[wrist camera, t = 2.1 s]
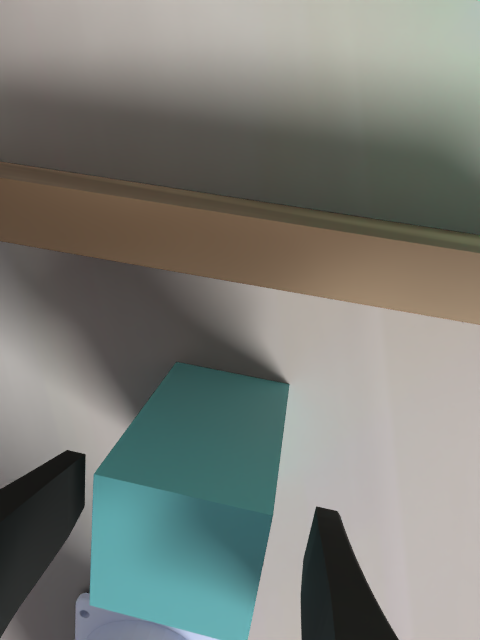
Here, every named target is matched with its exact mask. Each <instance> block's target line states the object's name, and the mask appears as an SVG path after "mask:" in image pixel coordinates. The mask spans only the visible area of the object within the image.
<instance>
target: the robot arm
mask: <svg viewBox="0 0 480 640" xmlns="http://www.w3.org/2000/svg"><path fill="white" fill-rule="evenodd" d="M84 505H85V454H82V453H78V452H73V451H69V450H67V451H65V452H63V453H61V454H60V455H58V456H56V457H54V458H53V459H51V460H49V461H48V462H46V463H44V464H43V465H41V466H40V467H38V468H36V469H35V470H33V471H31V472H29V473H28V474H26V475H24V476H23V477H21V478H19V479H17V480H16V481H14V482H12V483H11V484H9V485H7V486H5V487H4V488H2V489H0V638H1V636H2V634H3V633H4V631H5V629H6V628H7V626H8V624H9V622H10V621H11V619H12V618H13V616H14V615H15V613H16V612H17V610H18V608H19V607H20V605H21V604H22V603H23V601H24V600H25V598H26V597H27V595H28V594H29V593H30V591H31V590H32V588H33V587H34V586H35V584H36V583H37V581H38V580H39V578H40V577H41V576H42V574H43V573H44V571H45V570H46V568H47V567H48V566H49V564H50V563H51V561H52V560H53V558H54V557H55V556H56V554H57V553H58V551H59V550H60V548H61V547H62V545H63V544H64V543H65V541H66V540H67V538H68V536H69V535H70V533H71V531H72V529H73V527H74V526H75V524H76V522H77V520H78V518H79V516H80V514H81V512H82V510H83V508H84ZM89 604H90V593H82V594H80V595H79V597H78V599H77V601H76V612H75V640H219V639H215V638H211V637H208V636H204V635H200V634H196V633H193V632H189V631H185V630H181V629H177V628H174V627H170V626H166V625H162V624H158V623H155V622H151V621H147V620H143V619H140V618H136V617H132V616H128V615H124V614H121V613H117V612H113V611H109V610H106V609H102V608H98V607H94V606H90V605H89ZM301 629H302V640H399V639H398V638H397V636H396V634H395V633H394V631H393V629H392V628H391V626H390V624H389V623H388V621H387V619H386V617H385V616H384V614H383V612H382V610H381V608H380V606H379V605H378V603H377V601H376V599H375V597H374V595H373V593H372V591H371V589H370V587H369V585H368V583H367V581H366V579H365V577H364V574H363V572H362V570H361V568H360V566H359V564H358V561H357V559H356V557H355V554H354V552H353V550H352V547H351V545H350V542H349V540H348V537H347V534H346V532H345V529H344V526H343V523H342V520H341V517H340V515H339V513H338V512H337V511H334V510H330V509H325V508H321V507H316V510H315V514H314V518H313V522H312V526H311V530H310V534H309V539H308V543H307V547H306V551H305V555H304V559H303V572H302V585H301Z"/></svg>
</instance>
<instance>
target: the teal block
mask: <svg viewBox="0 0 480 640" xmlns="http://www.w3.org/2000/svg"><path fill="white" fill-rule="evenodd" d="M288 391H289V384H286V383H281V382H276V381H270V380H265V379H260V378H255V377H250V376H245V375H240V374H235V373H230V372H225V371H220V370H215V369H210V368H205V367H200V366H195V365H190V364H185V363H180V362H176V363H175V365H174V366H173V367H172V369H171V370H170V371H169V373H168V374H167V376H166V377H165V378H164V380H163V381H162V382H161V384H160V385H159V386H158V388H157V389H156V390H155V392H154V393H153V394H152V396H151V397H150V399H149V400H148V401H147V403H146V404H145V405H144V407H143V408H142V409H141V411H140V412H139V413H138V415H137V416H136V418H135V419H134V420H133V422H132V423H131V424H130V426H129V427H128V428H127V430H126V431H125V432H124V434H123V435H122V437H121V438H120V439H119V441H118V442H117V443H116V445H115V446H114V447H113V449H112V450H111V451H110V453H109V454H108V456H107V457H106V458H105V460H104V461H103V462H102V464H101V465H100V466H99V468H98V469H97V470H96V472H95V473H94V481H93V512H92V542H91V573H90V604H89V605H90V606H94V607H98V608H102V609H106V610H109V611H113V612H117V613H121V614H124V615H128V616H132V617H136V618H140V619H143V620H147V621H151V622H155V623H158V624H162V625H166V626H170V627H174V628H177V629H181V630H185V631H189V632H193V633H196V634H200V635H204V636H208V637H211V638H215V639H219V640H248V635H249V630H250V626H251V621H252V616H253V611H254V606H255V601H256V596H257V591H258V586H259V581H260V576H261V571H262V566H263V562H264V557H265V552H266V547H267V542H268V537H269V532H270V527H271V522H272V517H273V510H274V502H275V494H276V487H277V479H278V471H279V463H280V455H281V447H282V439H283V431H284V423H285V415H286V407H287V399H288Z"/></svg>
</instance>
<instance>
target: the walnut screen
mask: <svg viewBox="0 0 480 640" xmlns="http://www.w3.org/2000/svg"><path fill="white" fill-rule="evenodd" d="M0 241H2V242H8V243H14V244H19V245H25V246H31V247H37V248H42V249H48V250H54V251H59V252H65V253H71V254H77V255H82V256H88V257H94V258H100V259H105V260H111V261H117V262H123V263H128V264H134V265H140V266H145V267H151V268H157V269H163V270H168V271H174V272H180V273H186V274H191V275H197V276H203V277H209V278H214V279H220V280H226V281H231V282H237V283H243V284H249V285H254V286H260V287H266V288H272V289H277V290H283V291H289V292H295V293H300V294H306V295H312V296H317V297H323V298H329V299H335V300H340V301H346V302H352V303H358V304H363V305H369V306H375V307H381V308H386V309H392V310H398V311H403V312H409V313H415V314H421V315H426V316H432V317H438V318H444V319H449V320H455V321H461V322H467V323H472V324H478V325H480V235H475V234H469V233H462V232H456V231H449V230H443V229H436V228H430V227H423V226H417V225H410V224H404V223H397V222H391V221H384V220H378V219H371V218H365V217H358V216H352V215H345V214H339V213H332V212H326V211H319V210H312V209H306V208H299V207H293V206H286V205H280V204H273V203H267V202H260V201H254V200H247V199H241V198H234V197H228V196H221V195H215V194H208V193H202V192H195V191H189V190H182V189H176V188H169V187H163V186H156V185H150V184H143V183H137V182H130V181H123V180H117V179H110V178H104V177H97V176H91V175H84V174H78V173H71V172H65V171H58V170H52V169H45V168H39V167H32V166H26V165H19V164H13V163H6V162H0Z"/></svg>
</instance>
